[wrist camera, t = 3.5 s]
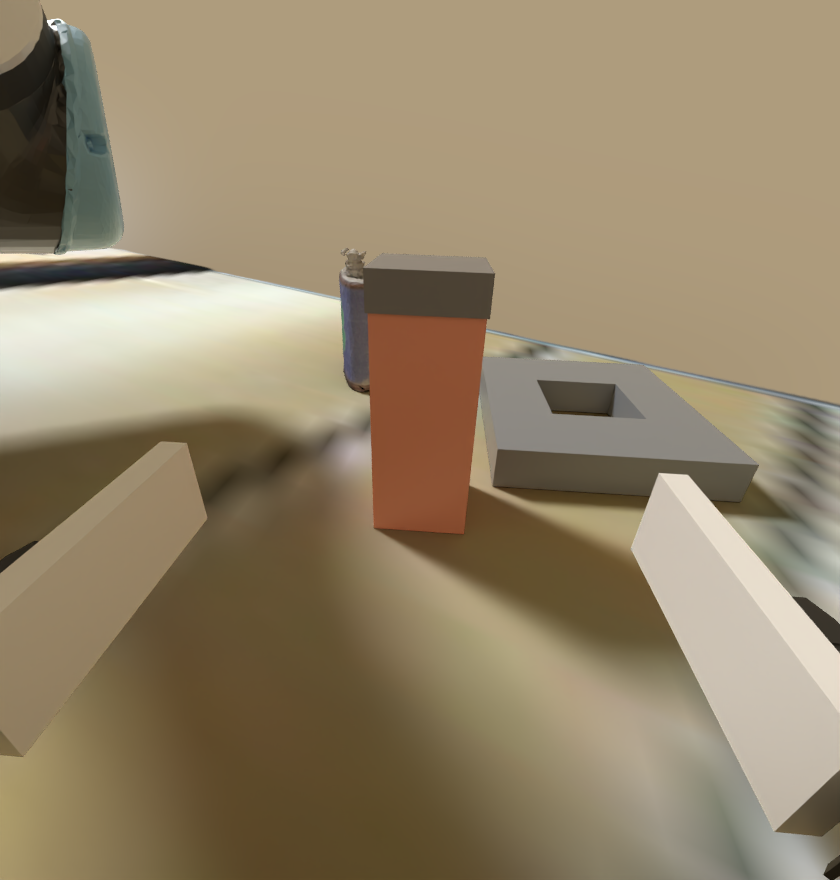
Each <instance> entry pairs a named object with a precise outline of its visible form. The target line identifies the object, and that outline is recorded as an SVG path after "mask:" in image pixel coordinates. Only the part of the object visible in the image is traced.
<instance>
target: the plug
mask: <svg viewBox="0 0 840 880" xmlns="http://www.w3.org/2000/svg"><path fill="white" fill-rule="evenodd" d="M494 278H495V273H494V271H493V269H492V267H491V266H490V264H489V262H488V260H487V259H486V258H481V257H458V256H431V255H409V254H385V253H382V254H381V255H379V256H378V257H377V258H375V259H374V260H373V261H371V262H370V263H369V264H367V265H366V266H365V267H363V284H364V313H368V345H369V379H370V413H371V448H372V482H373V516H374V528H381V529H396V530H410V531H425V532H439V533H454V534H464V528H465V519H466V510H467V500H468V491H469V482H470V472H471V463H472V454H473V444H474V435H475V426H476V416H477V407H478V398H479V389H480V379H481V370H482V361H483V351H484V342H485V333H486V323H487V319H490V314H491V305H492V295H493V287H494Z"/></svg>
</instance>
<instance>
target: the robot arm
mask: <svg viewBox="0 0 840 880" xmlns="http://www.w3.org/2000/svg"><path fill="white" fill-rule="evenodd" d="M123 232H124V222H123V215H122V209H121V203H120V197H119V191H118V186H117V180H116V174H115V168H114V162H113V157H112V152H111V146H110V140H109V135H108V130H107V124H106V119H105V113H104V108H103V103H102V97H101V91H100V86H99V81H98V76H97V71H96V65H95V61H94V56H93V52H92V48H91V43H90V41H89V39H88V37H87V36H86V34H85V33H84V32H83V31H81V30H80V29H78V28H76V27H74V26H70V25H67V24H66V23H65V22H64V21H62V20H60V19H54V20H52V19H50V21H47V19H46V16H45V14H44V11H43V9H42V6H41V4H40V1H39V0H0V253H53V254H55V255H61V254H65V253H66V252H67V251H81V250H95V249H106V248H109V247H112V246H114V245H115V244H116V243H118V242H119V241H120V239H121V237H122V236H123ZM207 519H208V518H207V514H206V511H205V507H204V504H203V500H202V496H201V493H200V489H199V485H198V482H197V478H196V474H195V471H194V467H193V463H192V460H191V456H190V452H189V449H188V445H187V443H179V442H164V441H161V442H159V443H158V444H157V445H156V446H154V447H153V448H152V449H151V450H150V451H148V452H147V453H146V454H145V455H144V456H142V457H141V458H140V459H139V460H137V461H136V462H135V463H134V464H133V465H131V466H130V467H129V468H128V469H127V470H125V471H124V472H123V473H122V474H120V475H119V476H118V477H117V478H116V479H114V480H113V481H112V482H111V483H110V484H108V485H107V486H106V487H105V488H103V489H102V490H101V491H100V492H99V493H97V494H96V495H95V496H94V497H93V498H91V499H90V500H89V501H88V502H86V503H85V504H84V505H83V506H82V507H80V508H79V509H78V510H77V511H76V512H74V513H73V514H72V515H71V516H69V517H68V518H67V519H66V520H65V521H63V522H62V523H61V524H60V525H59V526H57V527H56V528H55V529H54V530H52V531H51V532H50V533H49V534H48V535H46V536H45V537H44V538H43V539H42V540H40V541H34V542H32V543H30V544H28V545H26V546H24V547H22V548H21V549H19V550H17V551H15V552H13V553H11V554H9V555H8V556H6V557H4V558H3V559H2V560H0V755H7V756H17V757H24V755H25V754H26V753H27V751H28V750H29V749H30V748H31V746H32V745H33V744H34V742H35V741H36V740H37V739H38V737H39V736H40V735H41V733H42V732H43V731H44V730H45V728H46V727H47V726H48V724H49V723H50V722H51V720H52V719H53V718H54V717H55V715H56V714H57V713H58V711H59V710H60V709H61V708H62V706H63V705H64V704H65V702H66V701H67V700H68V698H69V697H70V696H71V695H72V693H73V692H74V691H75V689H76V688H77V687H78V686H79V684H80V683H81V682H82V680H83V679H84V678H85V676H86V675H87V674H88V673H89V671H90V670H91V669H92V667H93V666H94V665H95V664H96V662H97V661H98V660H99V658H100V657H101V656H102V655H103V653H104V652H105V651H106V649H107V648H108V647H109V645H110V644H111V643H112V642H113V640H114V639H115V638H116V636H117V635H118V634H119V633H120V631H121V630H122V629H123V627H124V626H125V625H126V623H127V622H128V621H129V620H130V618H131V617H132V616H133V614H134V613H135V612H136V611H137V609H138V608H139V607H140V605H141V604H142V603H143V601H144V600H145V599H146V598H147V596H148V595H149V594H150V592H151V591H152V590H153V589H154V587H155V586H156V585H157V583H158V582H159V581H160V579H161V578H162V577H163V576H164V574H165V573H166V572H167V570H168V569H169V568H170V567H171V565H172V564H173V563H174V561H175V560H176V559H177V558H178V556H179V555H180V554H181V552H182V551H183V550H184V548H185V547H186V546H187V545H188V543H189V542H190V541H191V539H192V538H193V537H194V536H195V534H196V533H197V532H198V530H199V529H200V528H201V526H202V525H203V524H204V523H205V521H206V520H207ZM631 550H632V552H633V554H634V556H635V558H636V560H637V562H638V564H639V566H640V568H641V570H642V572H643V574H644V576H645V578H646V580H647V582H648V584H649V586H650V588H651V590H652V592H653V594H654V596H655V598H656V599H657V601H658V603H659V605H660V607H661V609H662V611H663V613H664V615H665V617H666V619H667V621H668V623H669V625H670V627H671V629H672V631H673V633H674V635H675V637H676V639H677V641H678V643H679V645H680V647H681V649H682V651H683V653H684V655H685V657H686V659H687V661H688V663H689V665H690V667H691V669H692V670H693V672H694V674H695V676H696V678H697V680H698V682H699V684H700V686H701V688H702V690H703V692H704V694H705V696H706V698H707V700H708V702H709V704H710V706H711V708H712V710H713V712H714V714H715V716H716V718H717V720H718V722H719V724H720V726H721V728H722V730H723V732H724V734H725V736H726V738H727V740H728V742H729V743H730V745H731V747H732V749H733V751H734V753H735V755H736V757H737V759H738V761H739V763H740V765H741V767H742V769H743V771H744V773H745V775H746V777H747V779H748V781H749V783H750V785H751V787H752V789H753V791H754V793H755V795H756V797H757V799H758V801H759V803H760V805H761V807H762V809H763V811H764V813H765V815H766V816H767V818H768V820H769V822H770V824H771V826H772V828H773V830H774V832H782V833H792V834H802V835H812V836H823V835H824V834H825V833H827V832H828V831H829V830H830V829H831V828H833V827H834V826H835V825H836V824H837V823H839V822H840V624H839V623H838V622H837V621H836V620H835V619H834V618H832V617H831V616H830V615H828V614H827V613H826V612H824V611H823V610H822V609H820V608H819V607H818V606H816V605H815V604H814V603H812V602H811V601H810V600H808V599H807V598H803V597H791V595H790V594H789V593H788V592H787V591H786V590H785V588H784V587H783V586H782V585H781V584H780V582H779V581H778V580H777V579H776V578H775V577H774V575H773V574H772V573H771V572H770V571H769V570H768V568H767V567H766V566H765V565H764V564H763V563H762V561H761V560H760V559H759V558H758V557H757V555H756V554H755V553H754V552H753V551H752V550H751V548H750V547H749V546H748V545H747V544H746V543H745V541H744V540H743V539H742V538H741V537H740V535H739V534H738V533H737V532H736V531H735V530H734V528H733V527H732V526H731V525H730V524H729V523H728V521H727V520H726V519H725V518H724V517H723V515H722V514H721V513H720V512H719V511H718V510H717V508H716V507H715V506H714V505H713V504H712V503H711V501H710V500H709V499H708V498H707V497H706V496H705V494H704V493H703V492H702V491H701V490H700V488H699V487H698V486H697V485H696V484H695V483H694V481H693V480H692V479H691V478H690V477H689V476H688V475H682V474H666V473H659V474H658V477H657V480H656V482H655V485H654V488H653V490H652V493H651V496H650V498H649V501H648V504H647V507H646V509H645V512H644V515H643V517H642V520H641V523H640V525H639V528H638V531H637V534H636V536H635V539H634V542H633V544H632V547H631ZM823 875H824V876H826V877H827V878H828V879H830V880H835V879H836V878H837V877H839V876H840V855H839V856H838V857H837V858H835V859H834V860H833V861H831V862H830V863H829V864H828V865H827V868H826V870H825V872H824V874H823Z"/></svg>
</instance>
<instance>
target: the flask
mask: <svg viewBox="0 0 840 880" xmlns="http://www.w3.org/2000/svg"><path fill="white" fill-rule="evenodd" d="M347 250H349V249H348V248H345V249H343V250H341V254H342V255H343V256H345V253H346V251H347ZM365 254H366V251H363V252H362V253H358V251H356V250H355V249H352V250H351V251H349V252H348V254H347V258H348V260H347V261H346V263H345V264H346V267H345V268H344V269H342V270H341V272H340V276H339V281H340V293H341V317H342V335H343V355H344V368H343V369H344V371H343V372H344V374H345V378H346V380H347V383H348V385H349V387H351V388H352V389H354V390H355V391H359V392H363V391H365V390H370V379H369V345H368V313H364V284H363V267H365V266H364V263H365V262H362V261H361V260H362V259H363V258H364V256H365ZM359 386H361V387H362V388H364V389H365V390H363V389H361V388H360V387H359Z"/></svg>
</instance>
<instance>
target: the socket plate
mask: <svg viewBox="0 0 840 880" xmlns="http://www.w3.org/2000/svg"><path fill="white" fill-rule="evenodd" d="M479 393H480V400H481V407H482V415H483V422H484V429H485V436H486V443H487V451H488V458H489V465H490V472H491V479H492V486H499V487H515V488H530V489H546V490H561V491H577V492H592V493H608V494H623V495H639V496H651V493H652V490H653V488H654V485H655V482H656V480H657V477H658V474H659V473H666V474H682V475H688V476H689V477H690V478H691V479H692V480H693V481H694V483H695V484H696V485H697V486H698V487H699V488H700V490H701V491H702V492H703V493H704V494H705V496H706V497H707V498H708V499H709V500H716V501H732V502H741V500H742V498H743V496H744V494H745V492H746V490H747V488H748V486H749V484H750V482H751V480H752V478H753V476H754V474H755V472H756V470H757V468H758V466H759V464H757V463H756V462H755V461H754V460H753V459H752V458H751V457H749V456H748V455H747V454H746V453H745V452H744V451H742V450H741V449H740V448H739V447H738V446H737V445H736V444H734V443H733V442H732V441H731V440H730V439H729V438H727V437H726V436H725V435H724V434H723V433H722V432H720V431H719V430H718V429H717V428H716V427H715V426H714V425H712V424H711V423H710V422H709V421H708V420H707V419H705V418H704V417H703V416H702V415H701V414H700V413H698V412H697V411H696V410H695V409H694V408H693V407H692V406H690V405H689V404H688V403H687V402H686V401H685V400H683V399H682V398H681V397H680V396H679V395H678V394H677V393H675V392H674V391H673V390H672V389H671V388H670V387H668V386H667V385H666V384H665V383H664V382H663V381H661V380H660V379H659V378H658V377H657V376H656V375H655V374H653V373H652V372H651V371H650V370H649V369H648V368H646V367H645V366H644V365H635V364H616V363H597V362H577V361H558V360H539V359H519V358H500V357H483V361H482V370H481V379H480V389H479ZM551 410H555V411H572V412H590V413H608V415H609V416H610V417H601V416H583V415H566V414H552V412H551Z"/></svg>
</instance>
